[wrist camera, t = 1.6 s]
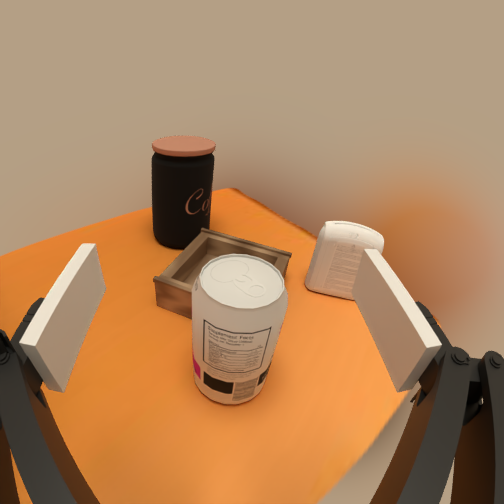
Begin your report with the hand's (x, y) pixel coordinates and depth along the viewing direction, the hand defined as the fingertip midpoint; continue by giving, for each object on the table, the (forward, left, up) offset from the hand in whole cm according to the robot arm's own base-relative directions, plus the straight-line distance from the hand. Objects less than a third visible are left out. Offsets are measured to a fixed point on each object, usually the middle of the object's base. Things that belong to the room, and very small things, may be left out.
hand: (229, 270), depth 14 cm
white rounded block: (+9, +30, -22) cm, 38 cm away
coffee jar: (-21, +33, -22) cm, 45 cm away
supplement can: (-1, +8, -22) cm, 24 cm away
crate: (-7, +22, -22) cm, 32 cm away
